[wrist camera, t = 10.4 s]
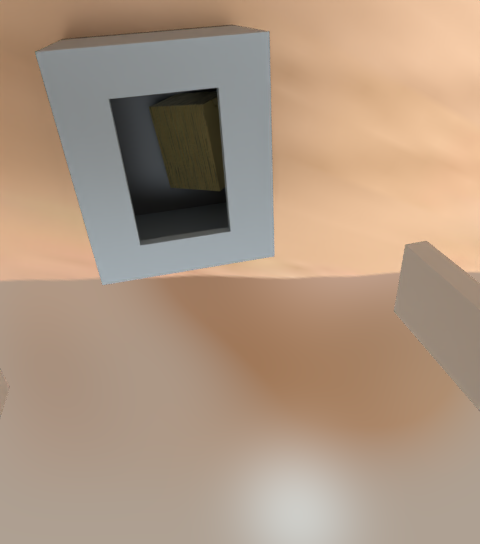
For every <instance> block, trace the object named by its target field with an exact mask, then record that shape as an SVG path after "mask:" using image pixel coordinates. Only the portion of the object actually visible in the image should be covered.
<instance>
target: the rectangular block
mask: <svg viewBox="0 0 480 544" xmlns="http://www.w3.org/2000/svg"><path fill="white" fill-rule="evenodd" d="M149 110H150V113H151V117H152V121H153V124H154V128H155V132H156V136H157V139H158V143H159V147H160V150H161V154H162V158H163V161H164V165H165V169H166V173H167V176H168V180H169V184H170V187H171V188H182V189H196V190H210V191H221V190H222V189H223V188H224V187H225V179H224V167H223V156H222V144H221V133H220V121H219V110H218V98H217V91H211V92H195V93H178V94H176V95H174V96H171V97H169V98H167V99H165V100H163V101H161V102H159V103H156V104H154V105H152V106H150V107H149Z"/></svg>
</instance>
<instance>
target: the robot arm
mask: <svg viewBox="0 0 480 544" xmlns="http://www.w3.org/2000/svg"><path fill="white" fill-rule="evenodd" d="M394 312H395V313H396V314H397V316H398V317H399V318H400V319H401V320H402V321H403V323H404V324H405V325H406V326H407V327H408V328H409V329H410V331H411V332H412V333H413V334H414V335H415V337H416V338H417V339H418V340H419V341H420V342H421V344H422V345H423V346H424V347H425V348H426V349H427V350H428V352H429V353H430V354H431V355H432V356H433V358H434V359H435V360H436V361H437V362H438V363H439V364H440V366H441V367H442V368H443V369H444V370H445V371H446V373H447V374H448V375H449V376H450V377H451V378H452V379H453V381H454V382H455V383H456V384H457V385H458V387H459V388H460V389H461V390H462V391H463V392H464V393H465V395H466V396H467V397H468V398H469V399H470V401H471V402H472V403H473V404H474V405H475V406H476V408H477V409H478V410H479V411H480V283H479V282H477V281H476V280H475V279H474V278H473V277H471V276H470V275H469V274H468V273H466V272H465V271H464V270H463V269H461V268H460V267H459V266H458V265H456V264H455V263H454V262H453V261H451V260H450V259H449V258H448V257H446V256H445V255H444V254H443V253H441V252H440V251H439V250H438V249H436V248H435V247H434V246H433V245H431V244H430V243H429V242H427V241H423V242H417V243H412V244H406V245H405V249H404V255H403V261H402V267H401V272H400V278H399V284H398V290H397V296H396V302H395V307H394ZM9 388H10V386H9V385H8V383H7V381H6V379H5V377H4V375H3V373H2V371H1V369H0V417H1V414H2V411H3V407H4V404H5V401H6V398H7V394H8V391H9Z"/></svg>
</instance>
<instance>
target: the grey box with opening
mask: <svg viewBox="0 0 480 544" xmlns="http://www.w3.org/2000/svg"><path fill="white" fill-rule="evenodd" d="M35 54H36V58H37V61H38V64H39V68H40V71H41V75H42V78H43V82H44V85H45V89H46V92H47V95H48V99H49V102H50V106H51V109H52V113H53V116H54V120H55V123H56V127H57V130H58V133H59V137H60V140H61V144H62V147H63V151H64V154H65V158H66V161H67V164H68V168H69V171H70V175H71V178H72V182H73V185H74V189H75V192H76V195H77V199H78V202H79V206H80V209H81V213H82V216H83V220H84V223H85V227H86V230H87V233H88V237H89V240H90V244H91V247H92V251H93V254H94V258H95V261H96V264H97V268H98V271H99V275H100V278H101V281H102V285H106V284H112V283H118V282H124V281H130V280H136V279H142V278H148V277H154V276H160V275H166V274H172V273H178V272H183V271H189V270H195V269H201V268H207V267H213V266H219V265H225V264H231V263H237V262H243V261H249V260H255V259H261V258H267V257H273V256H274V217H273V172H272V127H271V82H270V37H269V31H264V30H258V29H252V28H247V27H241V26H236V25H226V26H214V27H202V28H190V29H178V30H166V31H154V32H143V33H131V34H119V35H107V36H95V37H83V38H71V39H62V40H60V41H57V42H55V43H53V44H51V45H49V46H47V47H45V48H43V49H40V50H38V51H36V52H35ZM211 91H217V98H218V110H219V121H220V133H221V144H222V156H223V167H224V179H225V187H224V188H223V189H222V190H221V191H210V190H196V189H182V188H171V187H170V184H169V180H168V176H167V173H166V169H165V165H164V161H163V158H162V154H161V150H160V147H159V143H158V139H157V136H156V132H155V128H154V124H153V121H152V117H151V113H150V110H149V107H150V106H152V105H154V104H156V103H159V102H161V101H163V100H165V99H167V98H169V97H171V96H174V95H176V94H178V93H195V92H211Z"/></svg>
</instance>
